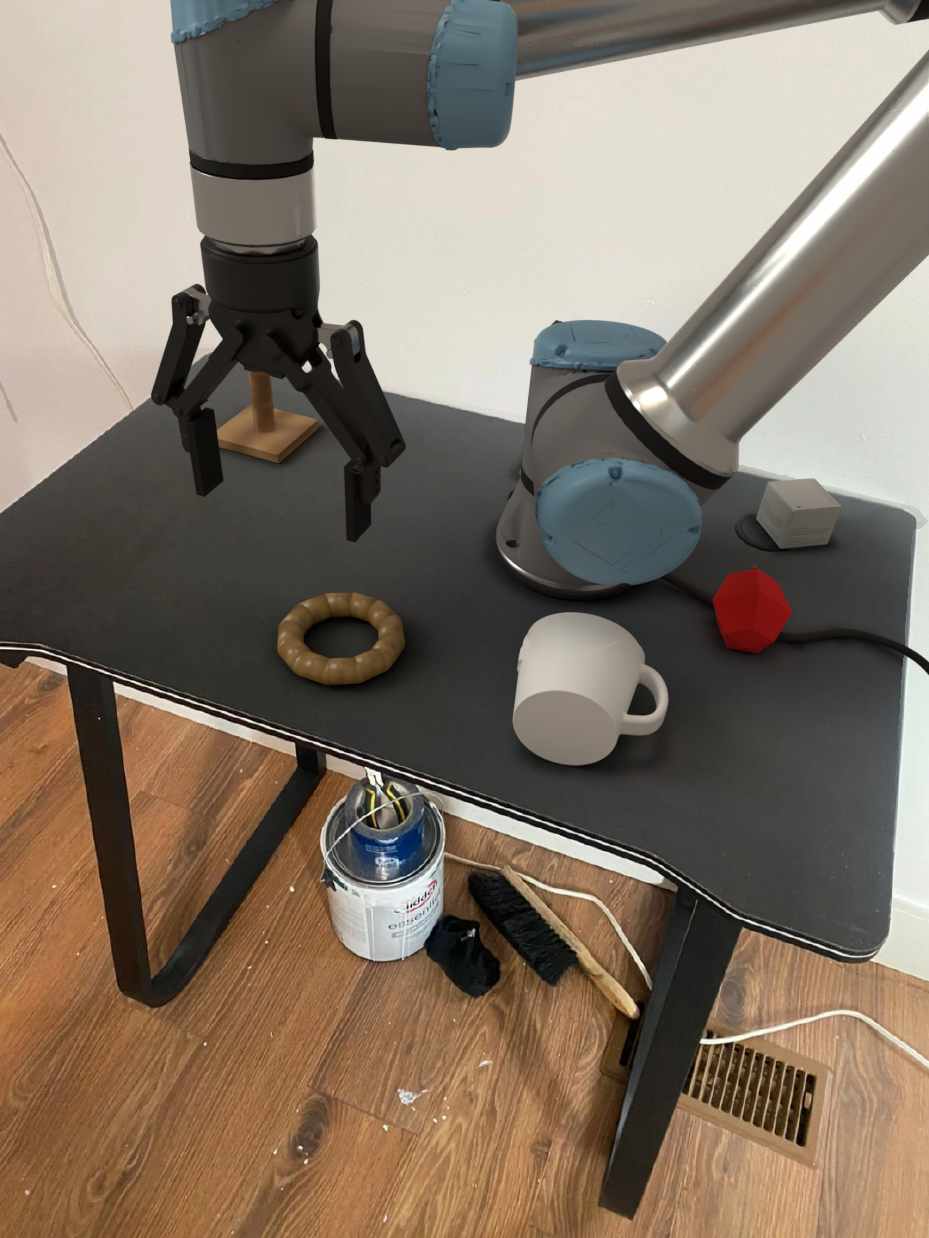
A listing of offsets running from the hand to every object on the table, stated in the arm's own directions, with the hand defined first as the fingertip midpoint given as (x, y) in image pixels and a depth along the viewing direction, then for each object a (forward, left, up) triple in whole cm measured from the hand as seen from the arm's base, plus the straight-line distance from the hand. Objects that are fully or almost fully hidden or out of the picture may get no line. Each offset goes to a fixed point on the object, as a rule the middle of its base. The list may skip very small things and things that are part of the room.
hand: (282, 510), depth 73 cm
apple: (-37, -17, -13) cm, 43 cm away
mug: (-27, 0, -13) cm, 30 cm away
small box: (-39, -36, -13) cm, 54 cm away
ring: (-5, 0, -12) cm, 13 cm away
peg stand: (+20, -28, -13) cm, 37 cm away
